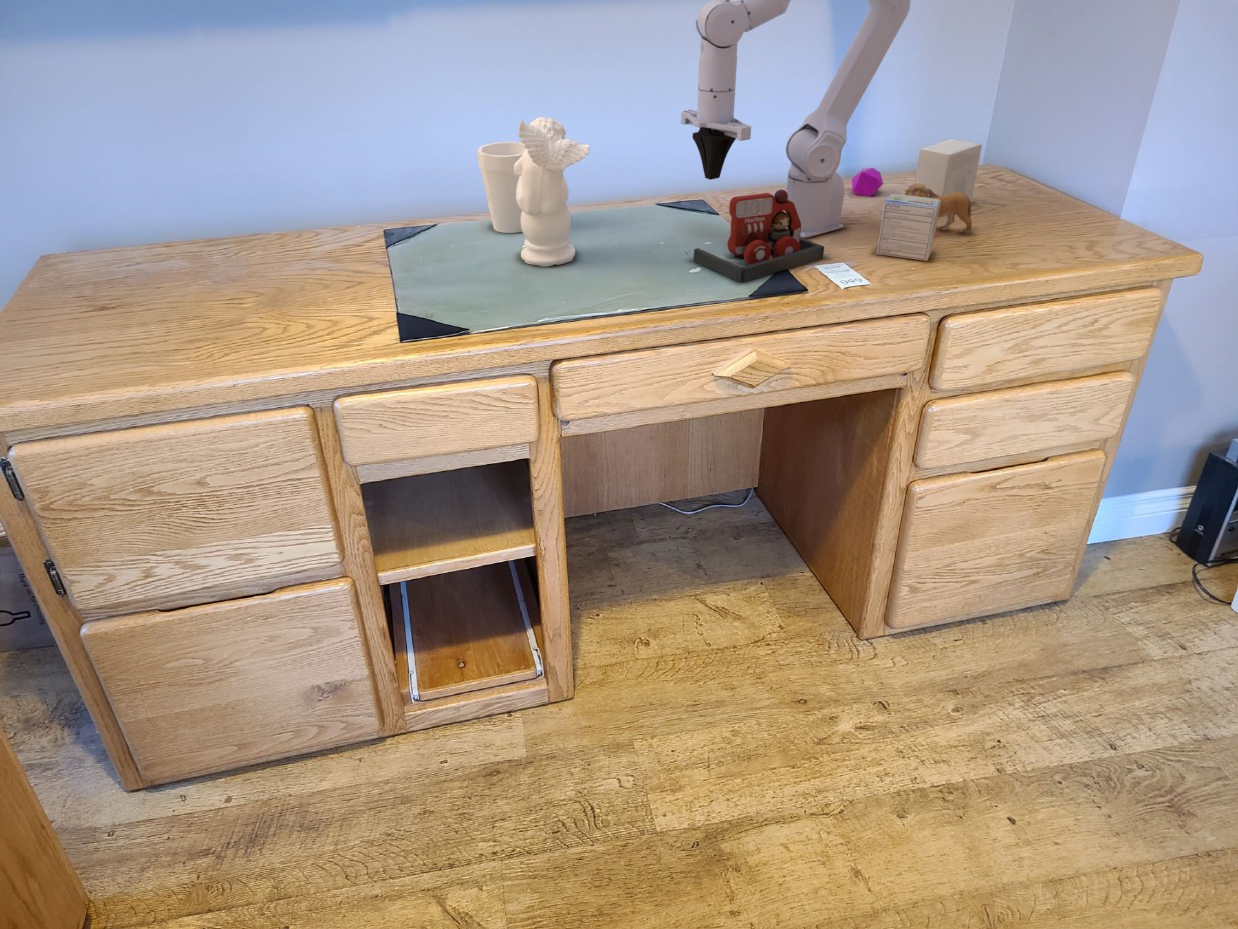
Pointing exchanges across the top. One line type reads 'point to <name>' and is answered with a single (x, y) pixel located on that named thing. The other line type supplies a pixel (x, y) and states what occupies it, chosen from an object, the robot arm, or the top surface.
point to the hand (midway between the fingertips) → (712, 177)
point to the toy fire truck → (763, 226)
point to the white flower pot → (501, 183)
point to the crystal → (867, 182)
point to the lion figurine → (947, 205)
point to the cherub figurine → (545, 191)
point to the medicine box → (908, 226)
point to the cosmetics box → (949, 167)
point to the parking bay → (741, 274)
